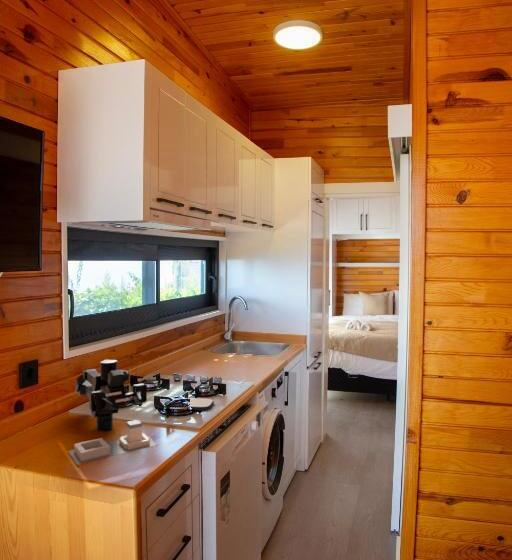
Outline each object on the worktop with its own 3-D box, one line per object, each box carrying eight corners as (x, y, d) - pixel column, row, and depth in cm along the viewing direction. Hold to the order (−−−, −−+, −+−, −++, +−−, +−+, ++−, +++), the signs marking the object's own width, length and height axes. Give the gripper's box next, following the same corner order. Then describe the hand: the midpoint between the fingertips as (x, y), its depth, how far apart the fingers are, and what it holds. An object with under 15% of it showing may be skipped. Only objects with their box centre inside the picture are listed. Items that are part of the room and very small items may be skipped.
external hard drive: (152, 410, 202) (152, 405, 202) (162, 401, 214) (161, 396, 214) (208, 412, 199) (208, 407, 199) (215, 403, 211) (215, 398, 211)
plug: (126, 442, 165) (126, 421, 165) (138, 439, 168) (137, 419, 167) (130, 446, 162) (130, 425, 162) (142, 443, 164) (141, 423, 164)
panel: (68, 453, 159) (67, 443, 159) (145, 436, 173) (145, 426, 173) (77, 467, 149) (77, 456, 149) (158, 447, 163) (158, 437, 163)
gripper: (83, 372, 164) (96, 383, 151) (137, 365, 175) (154, 374, 162) (84, 405, 165) (97, 418, 152) (138, 395, 175) (154, 407, 162)
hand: (127, 403), depth 157 cm, fingers open, 9 cm apart
